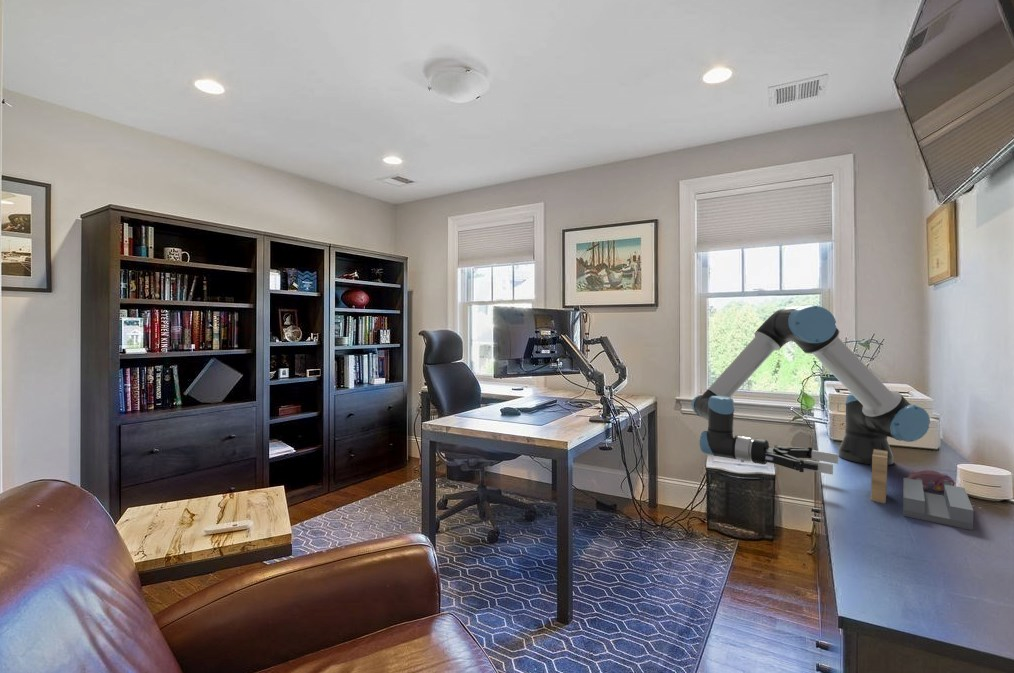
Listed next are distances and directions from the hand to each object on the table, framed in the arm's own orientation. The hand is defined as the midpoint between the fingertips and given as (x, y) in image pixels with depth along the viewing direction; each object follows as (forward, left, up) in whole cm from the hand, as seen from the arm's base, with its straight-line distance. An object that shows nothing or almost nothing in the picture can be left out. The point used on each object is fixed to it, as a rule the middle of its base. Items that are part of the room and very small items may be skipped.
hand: (835, 463), depth 131 cm
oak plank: (0, +10, -7) cm, 12 cm away
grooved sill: (+2, +21, -7) cm, 22 cm away
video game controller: (-18, +20, -7) cm, 28 cm away
